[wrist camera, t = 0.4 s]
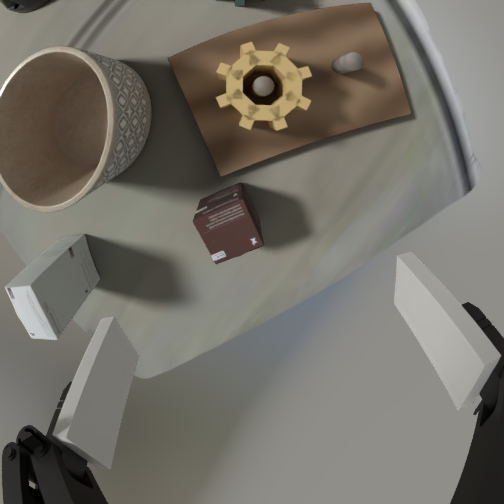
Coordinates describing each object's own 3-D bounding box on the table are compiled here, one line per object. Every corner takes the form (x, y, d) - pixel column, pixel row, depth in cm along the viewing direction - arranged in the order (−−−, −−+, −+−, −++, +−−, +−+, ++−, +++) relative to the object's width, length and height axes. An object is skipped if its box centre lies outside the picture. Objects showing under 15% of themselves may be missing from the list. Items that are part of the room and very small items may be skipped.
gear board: (171, 60, 28) (156, 50, 22) (364, 6, 25) (388, -9, 18) (221, 173, 35) (218, 187, 29) (403, 112, 32) (433, 116, 26)
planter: (121, 199, 36) (77, 240, 25) (35, 151, 31) (-22, 174, 20) (179, 88, 30) (148, 78, 19) (80, 45, 25) (24, 31, 14)
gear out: (203, 90, 28) (195, 85, 23) (260, 39, 26) (265, 25, 21) (258, 142, 32) (263, 149, 26) (314, 93, 29) (330, 90, 24)
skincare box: (101, 278, 41) (62, 343, 28) (73, 281, 41) (31, 342, 28) (84, 230, 37) (30, 286, 24) (55, 236, 38) (1, 289, 24)
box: (242, 180, 36) (244, 197, 29) (260, 221, 39) (265, 246, 32) (198, 199, 37) (190, 220, 30) (218, 238, 39) (215, 266, 33)
